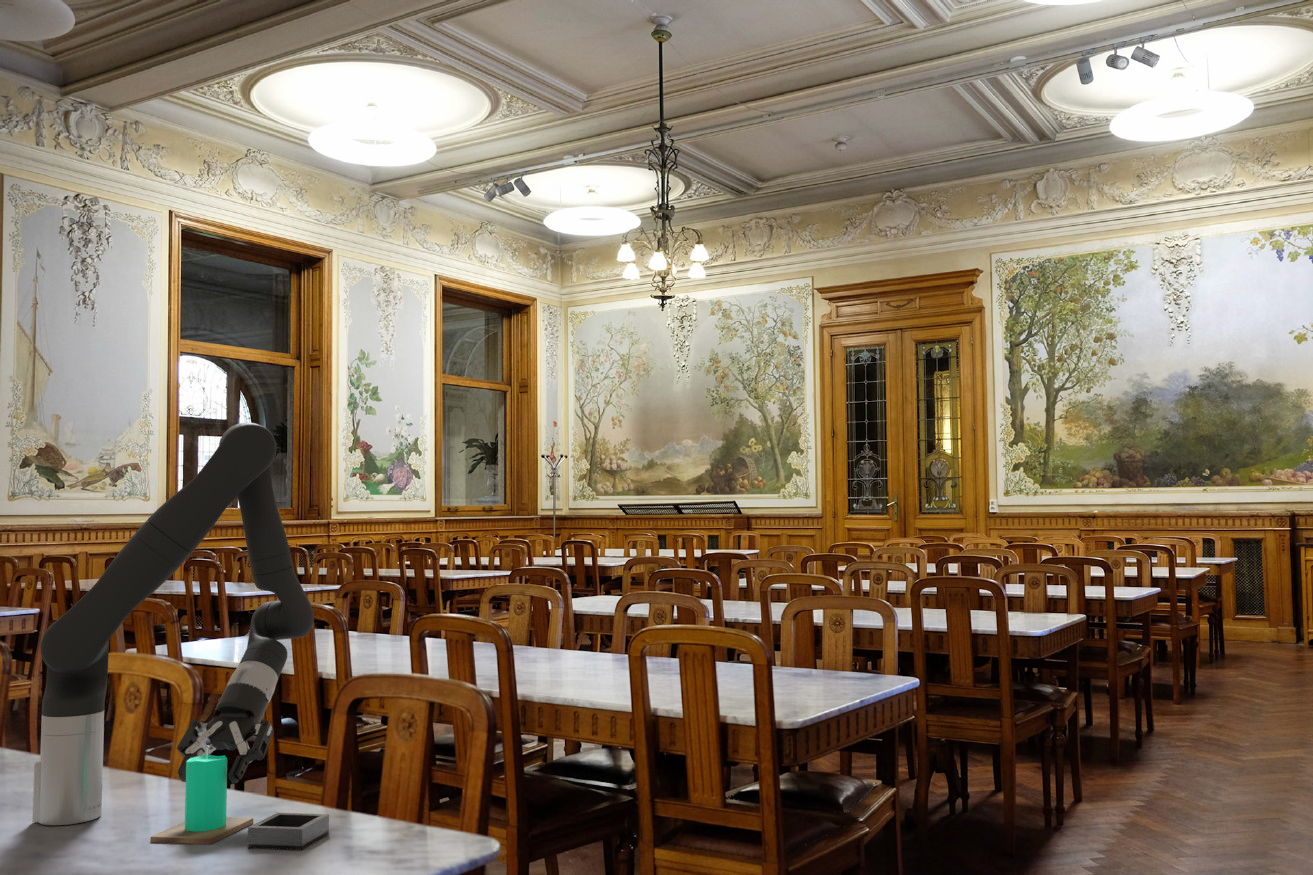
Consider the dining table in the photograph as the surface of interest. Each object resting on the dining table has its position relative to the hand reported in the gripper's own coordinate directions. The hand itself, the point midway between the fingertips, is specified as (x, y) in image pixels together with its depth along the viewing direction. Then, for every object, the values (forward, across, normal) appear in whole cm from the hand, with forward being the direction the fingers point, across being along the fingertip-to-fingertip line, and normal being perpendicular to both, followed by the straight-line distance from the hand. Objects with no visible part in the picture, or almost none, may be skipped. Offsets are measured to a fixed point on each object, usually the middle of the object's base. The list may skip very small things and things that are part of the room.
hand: (207, 779), depth 173 cm
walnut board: (+6, 0, +5) cm, 8 cm away
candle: (+5, 0, +5) cm, 7 cm away
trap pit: (+8, +16, +3) cm, 18 cm away
